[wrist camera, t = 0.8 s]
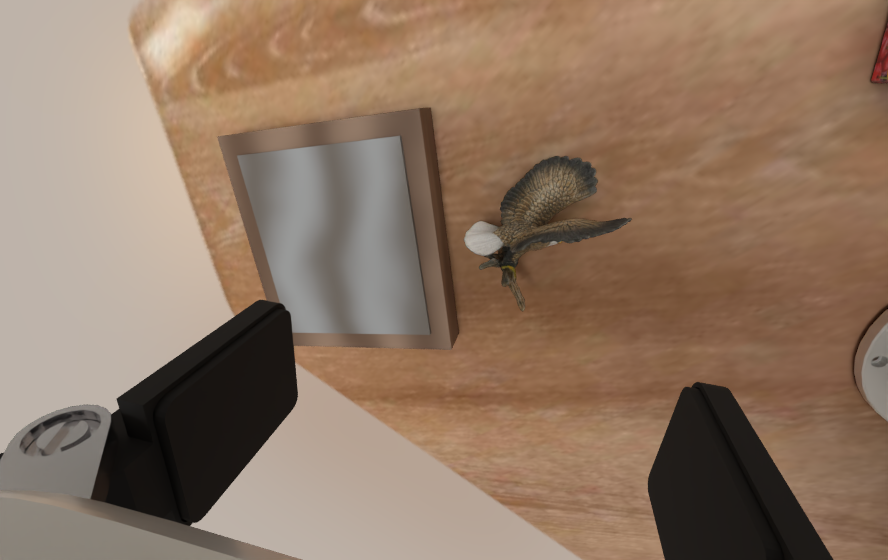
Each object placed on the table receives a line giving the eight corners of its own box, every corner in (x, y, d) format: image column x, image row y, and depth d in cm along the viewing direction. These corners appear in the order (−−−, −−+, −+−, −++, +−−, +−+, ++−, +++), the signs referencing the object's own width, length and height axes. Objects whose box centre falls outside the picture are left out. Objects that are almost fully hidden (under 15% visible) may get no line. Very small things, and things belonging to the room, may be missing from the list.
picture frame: (430, 107, 30) (417, 108, 27) (458, 332, 36) (450, 351, 33) (241, 133, 34) (214, 136, 31) (297, 330, 40) (278, 346, 38)
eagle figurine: (552, 305, 32) (652, 227, 26) (493, 318, 27) (601, 224, 21) (502, 229, 35) (582, 143, 29) (439, 227, 30) (522, 124, 24)
